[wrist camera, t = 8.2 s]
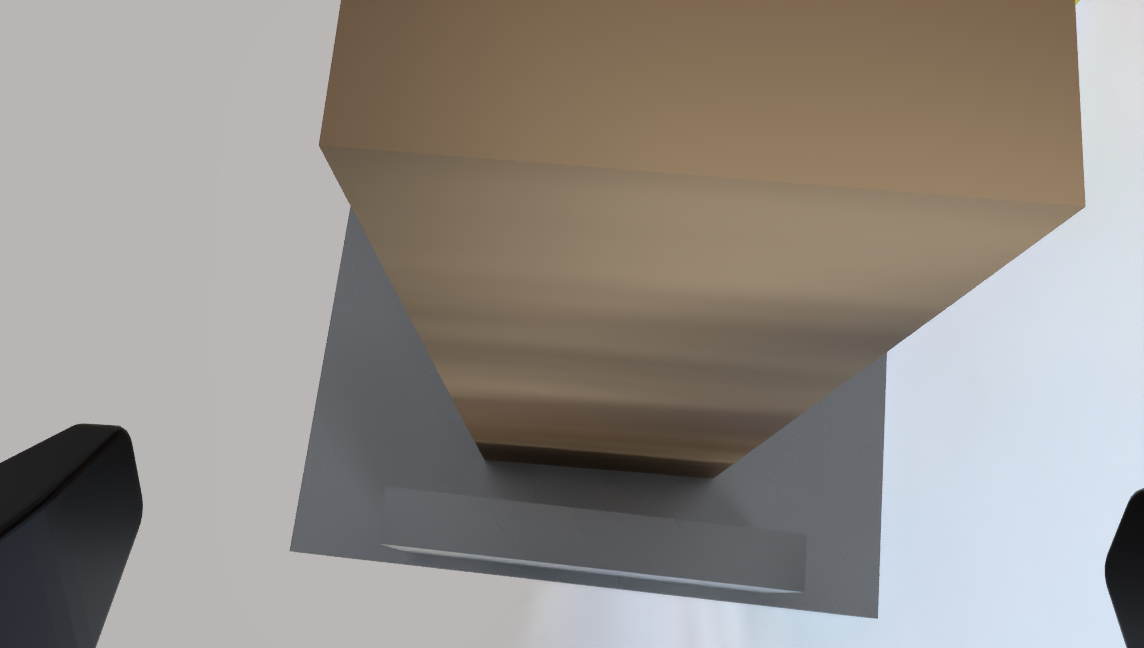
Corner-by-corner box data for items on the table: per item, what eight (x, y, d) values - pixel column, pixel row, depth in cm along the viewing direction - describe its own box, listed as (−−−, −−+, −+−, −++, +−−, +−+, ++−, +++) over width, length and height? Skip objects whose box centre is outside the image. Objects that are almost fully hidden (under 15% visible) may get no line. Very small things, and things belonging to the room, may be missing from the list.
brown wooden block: (713, 478, 18) (1086, 206, 5) (484, 460, 18) (318, 145, 5) (723, 260, 19) (1054, -400, 6) (506, 242, 19) (410, -449, 6)
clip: (871, 617, 18) (947, 623, 14) (295, 551, 18) (232, 541, 14) (885, 186, 20) (956, 100, 16) (369, 130, 20) (330, 32, 16)
